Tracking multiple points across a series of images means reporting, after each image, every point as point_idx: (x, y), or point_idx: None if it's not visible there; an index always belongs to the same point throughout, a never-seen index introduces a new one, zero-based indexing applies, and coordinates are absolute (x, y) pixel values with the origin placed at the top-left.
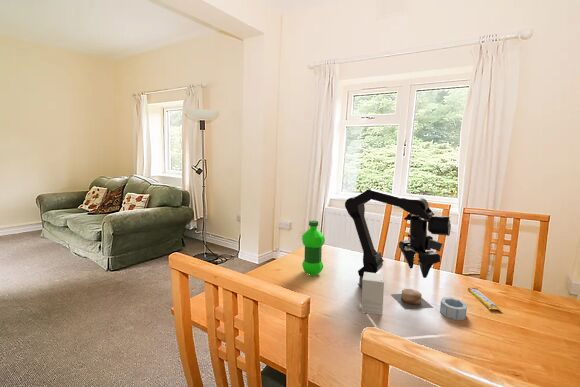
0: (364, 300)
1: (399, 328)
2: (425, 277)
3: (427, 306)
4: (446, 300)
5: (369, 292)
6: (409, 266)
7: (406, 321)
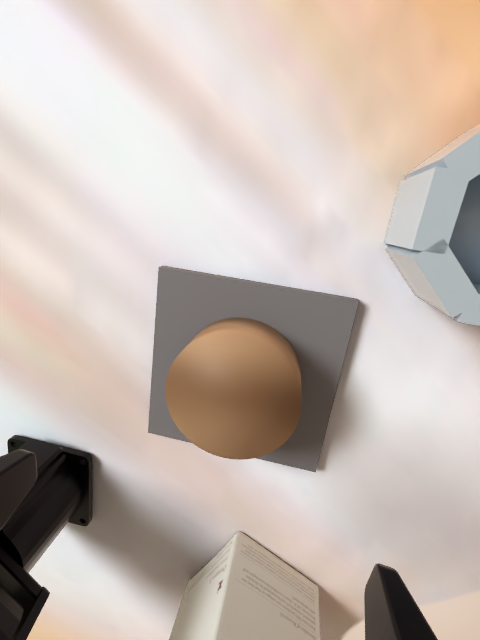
0: None
1: (435, 587)
2: (390, 581)
3: (336, 330)
4: (445, 237)
5: None
6: (10, 512)
7: (402, 525)
